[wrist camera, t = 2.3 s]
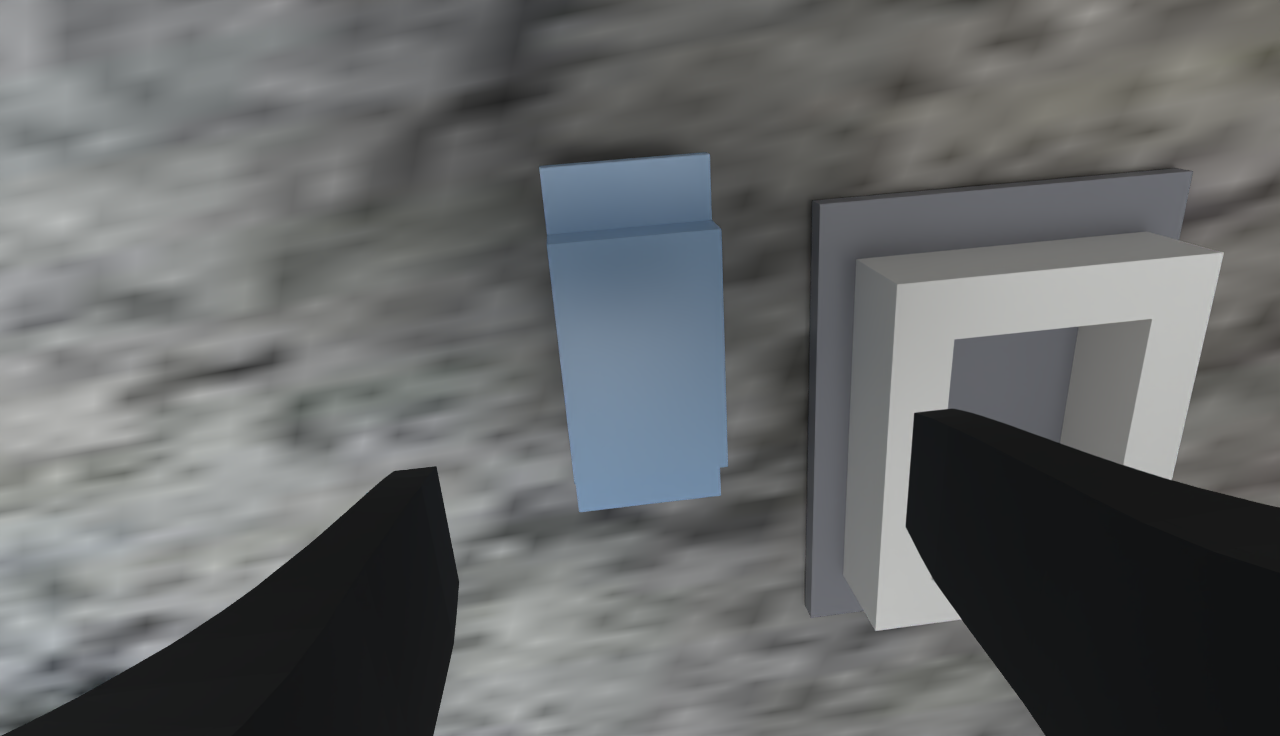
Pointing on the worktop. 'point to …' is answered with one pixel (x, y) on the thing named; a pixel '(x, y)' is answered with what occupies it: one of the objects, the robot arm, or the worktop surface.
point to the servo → (639, 326)
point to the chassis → (987, 350)
